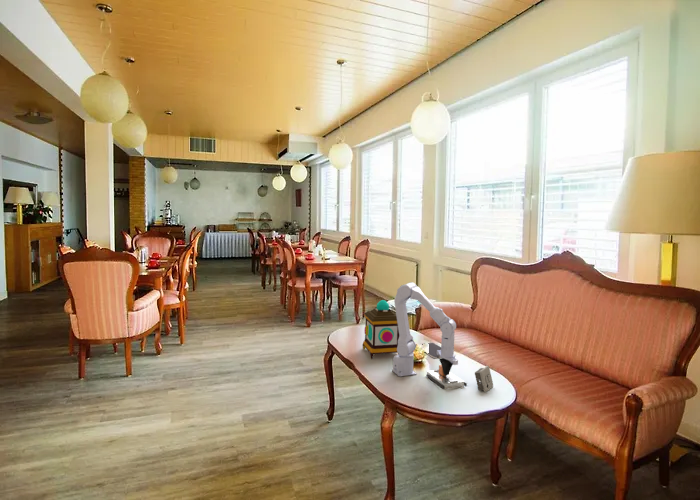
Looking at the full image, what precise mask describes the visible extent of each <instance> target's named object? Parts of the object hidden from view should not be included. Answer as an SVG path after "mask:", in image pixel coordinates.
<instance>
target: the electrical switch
mask: <svg viewBox="0 0 700 500" xmlns="http://www.w3.org/2000/svg"><path fill="white" fill-rule="evenodd" d="M474 376H475V381H476V385H477V389H478V391H483V392H484V393H487V392H488V391H490V389H491V388H492V387H494V382H493V378H492V373H491V369H490V366H489V365H486V366H485V367H480V368H478V370H476V371H474Z"/></svg>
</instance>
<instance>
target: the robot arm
mask: <svg viewBox="0 0 700 500" xmlns="http://www.w3.org/2000/svg"><path fill="white" fill-rule="evenodd" d="M409 299H410V300H415V301H418V302H419V304H421V305H422V306H423V307H424V308H425V309H426V310H427V311H428V312H429V316H430V318H431V319H432V320H433V322H435V323H436V324H437V325H438V326H439V327H440V329H439V330H440V331H441V346H440V347H441V350H437V355H440V357H441V358H438V359H439V360H438V361H439V363H440V365H442V369H443V373H444V375H449V373H450V372H451V369H452V366H453V365H454V366H458V365H459V360H458V359H457V358H456V354H454V353H455V330H456V329H457V323H456V321H455V320H454V319H452V318H451V317H450V316H448V315H446V314H445V312H444V309H443V308H440V307H437V306H435V305H434V304H433V302H431V300H430V299H429V298H428V297H427V296H426V294H424V292H423V291H422V290H421V287H420V286H417V284H416V283H415V282H413V281H411V282H410V281H409V282H408V283H406V284H401V285H400V286H399V287H398V288H397V289H396V294H395V297H394V307H395V314H396V316H397V323H398V330H399V339H398V346H397V352H398V353H397V355H394V356H393V359H392V369H391V371H392V372H393V373H394V374H396V376H398V377H407V376H414V375H417V372H415V371H414V358H415V357H414V351H415V350H416V349H417V348H416V345H417V344H416V342H415V341H414V337H413V336H412V335H411V331H410V330H411V329H410V324H409V323H410V322H409V316H408V309H407V302H408V301H409Z"/></svg>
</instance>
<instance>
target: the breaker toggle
mask: <svg viewBox="0 0 700 500" xmlns="http://www.w3.org/2000/svg"><path fill="white" fill-rule="evenodd" d="M438 369H439V374H441V375H442V376H443V375H444V373H443V369H442V365H441V364H438Z"/></svg>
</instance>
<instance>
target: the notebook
mask: <svg viewBox="0 0 700 500" xmlns="http://www.w3.org/2000/svg"><path fill="white" fill-rule="evenodd" d="M427 343H428V342H427ZM421 344H422V345H423V344H424V343H421ZM428 344H429V353H428V354H427V355H428V356H429V357H431V358H432V359H442V358H441V357H440V355H437V350H441V346H439V345H438V344H435V343H434V342H429V343H428Z"/></svg>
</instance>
